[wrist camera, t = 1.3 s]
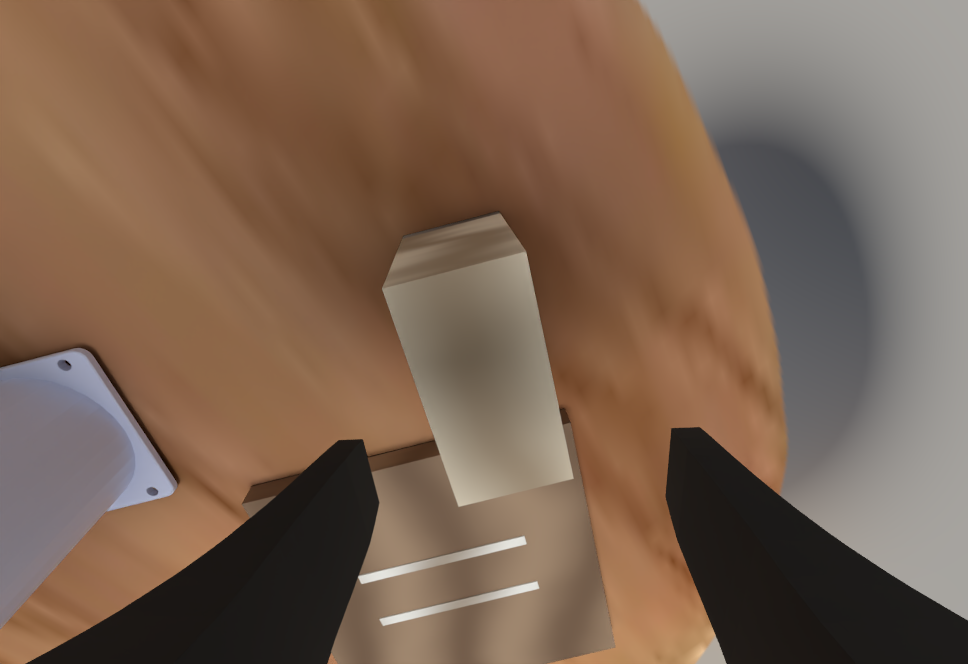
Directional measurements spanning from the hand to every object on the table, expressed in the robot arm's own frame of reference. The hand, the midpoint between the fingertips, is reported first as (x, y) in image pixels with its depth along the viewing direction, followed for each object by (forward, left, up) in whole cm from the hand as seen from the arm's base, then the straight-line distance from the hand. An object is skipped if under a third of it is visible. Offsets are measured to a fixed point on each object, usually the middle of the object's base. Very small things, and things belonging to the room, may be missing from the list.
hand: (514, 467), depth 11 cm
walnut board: (-5, -14, -10) cm, 19 cm away
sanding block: (0, 0, -10) cm, 10 cm away
